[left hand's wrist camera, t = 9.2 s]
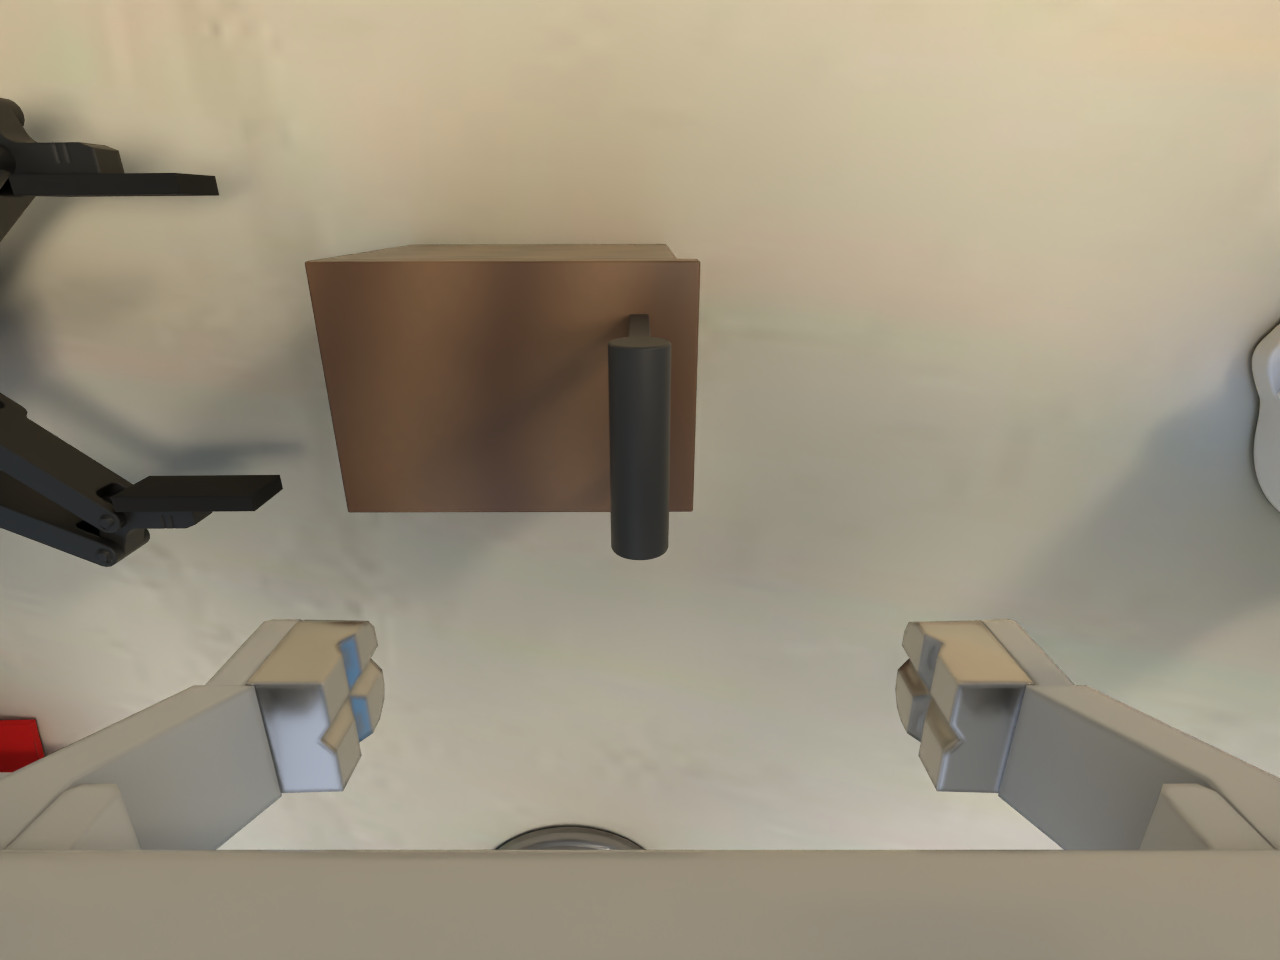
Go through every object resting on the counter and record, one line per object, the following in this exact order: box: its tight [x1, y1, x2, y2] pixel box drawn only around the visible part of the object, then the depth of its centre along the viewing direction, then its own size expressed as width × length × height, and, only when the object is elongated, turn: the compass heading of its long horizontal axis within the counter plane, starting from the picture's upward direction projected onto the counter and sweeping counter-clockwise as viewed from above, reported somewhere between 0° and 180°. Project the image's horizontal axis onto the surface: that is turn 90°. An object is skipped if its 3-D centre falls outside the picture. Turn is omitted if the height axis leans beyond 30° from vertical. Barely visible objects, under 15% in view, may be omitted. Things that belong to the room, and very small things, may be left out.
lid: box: [305, 259, 700, 560], centre depth 23 cm, size 14×10×8 cm
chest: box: [319, 244, 677, 260], centre depth 32 cm, size 13×10×11 cm
